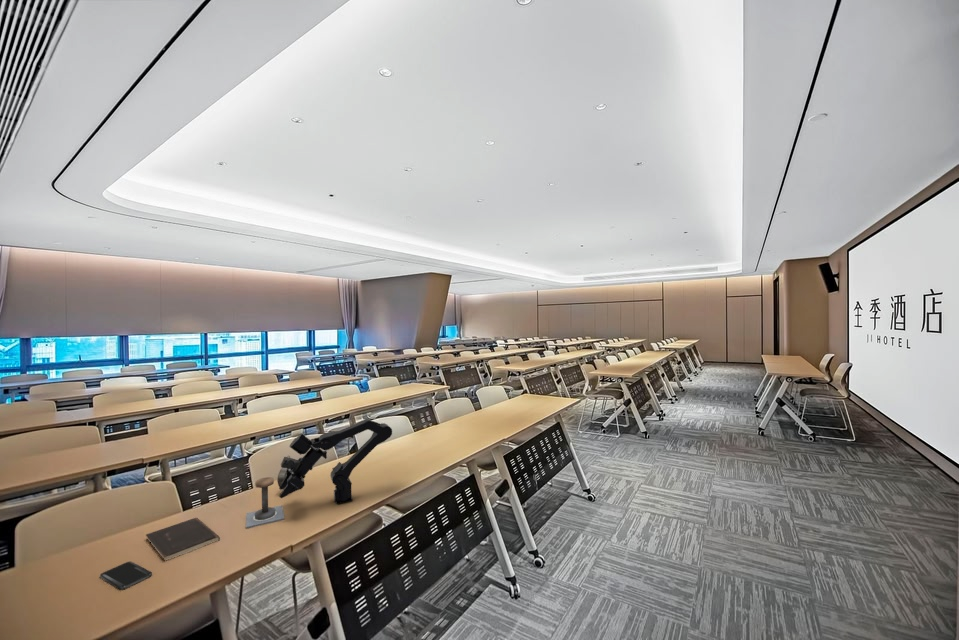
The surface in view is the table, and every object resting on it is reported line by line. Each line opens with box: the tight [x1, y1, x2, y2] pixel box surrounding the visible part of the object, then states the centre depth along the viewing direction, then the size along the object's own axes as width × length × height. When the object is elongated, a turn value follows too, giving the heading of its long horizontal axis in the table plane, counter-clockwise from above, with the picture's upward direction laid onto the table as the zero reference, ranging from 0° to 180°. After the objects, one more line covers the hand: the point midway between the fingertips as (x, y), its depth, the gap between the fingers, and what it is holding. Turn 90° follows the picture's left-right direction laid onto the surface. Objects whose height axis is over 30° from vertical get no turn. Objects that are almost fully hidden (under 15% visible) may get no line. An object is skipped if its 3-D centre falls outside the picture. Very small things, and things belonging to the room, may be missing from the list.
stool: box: [255, 476, 275, 520], centre depth 158 cm, size 7×7×14 cm
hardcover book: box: [145, 517, 221, 562], centre depth 143 cm, size 16×23×2 cm
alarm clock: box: [276, 455, 291, 491], centre depth 183 cm, size 11×5×16 cm, turn 168°
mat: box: [245, 505, 285, 529], centre depth 158 cm, size 13×13×1 cm
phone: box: [99, 561, 153, 591], centre depth 122 cm, size 8×1×15 cm
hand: (280, 493), depth 161 cm, fingers open, 9 cm apart
